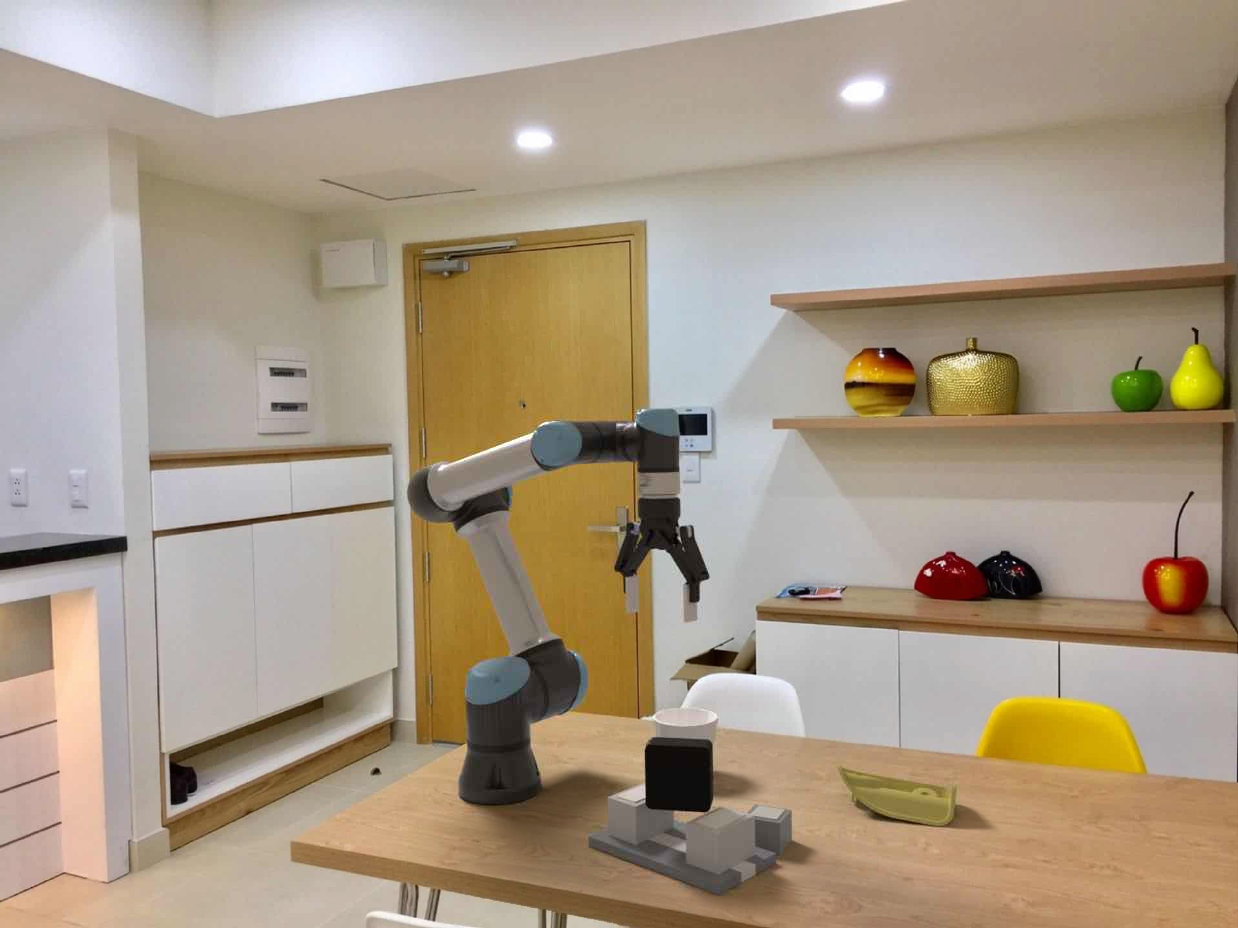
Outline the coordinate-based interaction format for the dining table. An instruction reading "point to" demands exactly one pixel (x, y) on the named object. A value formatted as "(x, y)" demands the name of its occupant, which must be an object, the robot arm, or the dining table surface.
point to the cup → (686, 723)
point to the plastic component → (901, 797)
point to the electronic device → (679, 774)
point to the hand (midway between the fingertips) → (660, 616)
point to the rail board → (683, 842)
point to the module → (772, 827)
